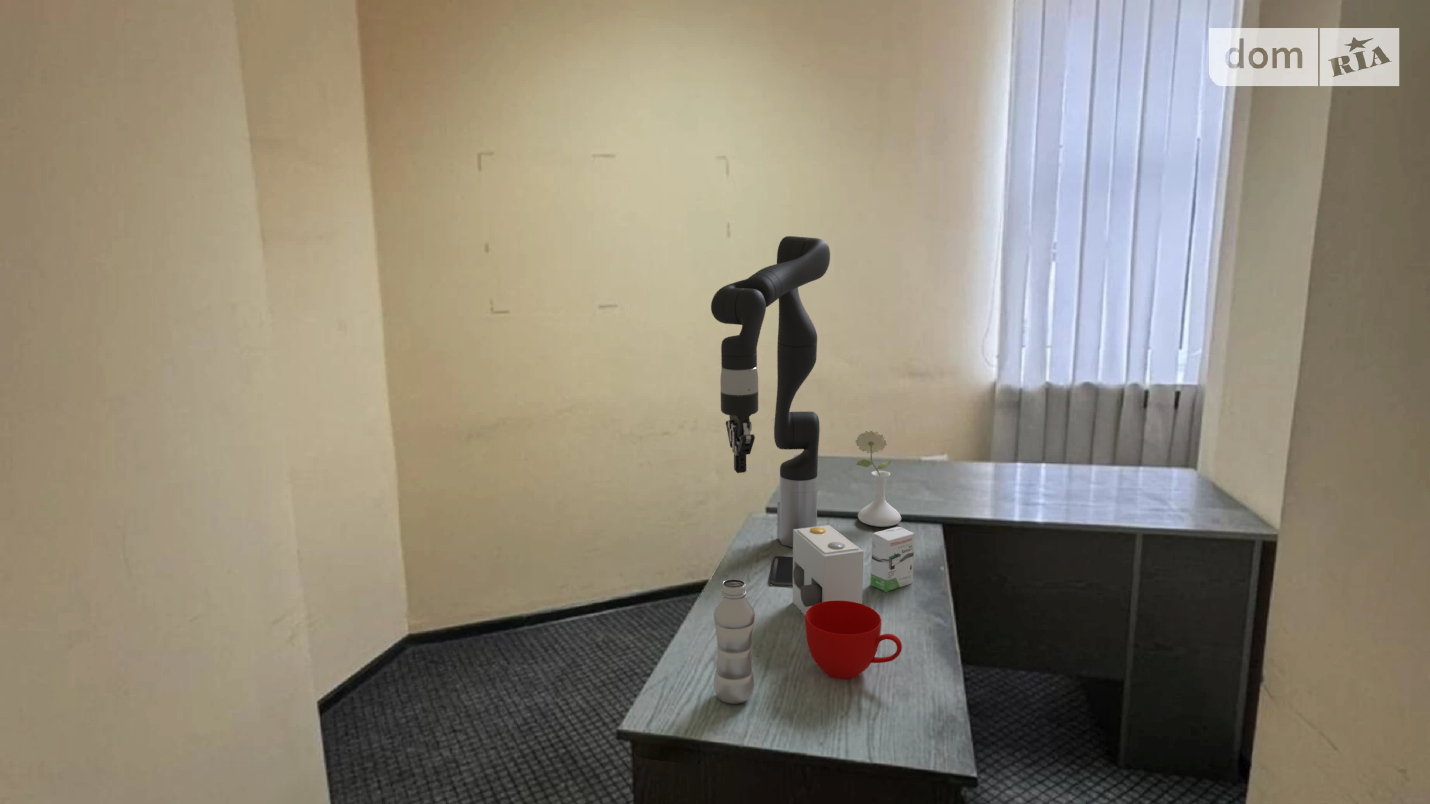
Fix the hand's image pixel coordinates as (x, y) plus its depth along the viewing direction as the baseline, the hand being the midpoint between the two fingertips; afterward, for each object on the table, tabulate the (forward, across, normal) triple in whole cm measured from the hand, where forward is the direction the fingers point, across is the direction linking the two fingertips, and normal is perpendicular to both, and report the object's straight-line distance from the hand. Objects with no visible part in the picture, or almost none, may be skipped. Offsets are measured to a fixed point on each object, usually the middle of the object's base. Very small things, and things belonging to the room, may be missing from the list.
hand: (740, 471), depth 158 cm
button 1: (+22, -9, -11) cm, 27 cm away
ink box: (+28, -4, -33) cm, 44 cm away
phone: (+29, +8, -14) cm, 33 cm away
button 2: (+22, -18, -9) cm, 30 cm away
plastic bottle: (+26, -37, +12) cm, 47 cm away
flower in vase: (+30, +32, -47) cm, 65 cm away
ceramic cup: (+26, -35, -10) cm, 45 cm away
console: (+27, -14, -14) cm, 34 cm away
